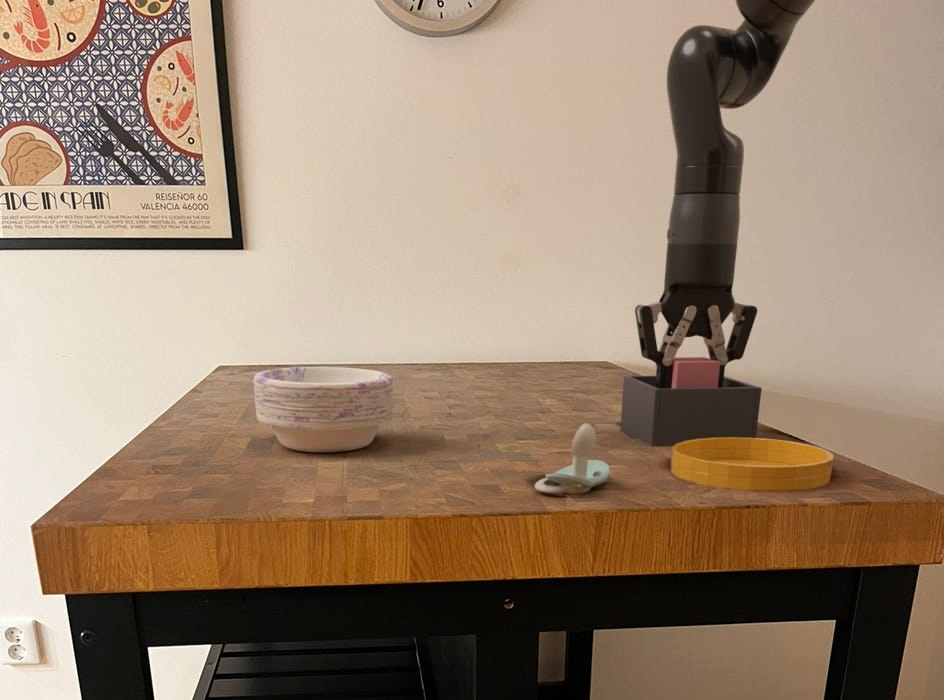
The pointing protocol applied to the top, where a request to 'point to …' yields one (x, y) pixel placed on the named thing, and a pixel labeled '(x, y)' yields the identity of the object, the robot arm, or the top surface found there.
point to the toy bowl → (751, 464)
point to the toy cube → (695, 372)
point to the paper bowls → (323, 406)
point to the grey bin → (688, 411)
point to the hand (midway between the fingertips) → (688, 397)
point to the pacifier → (577, 467)
